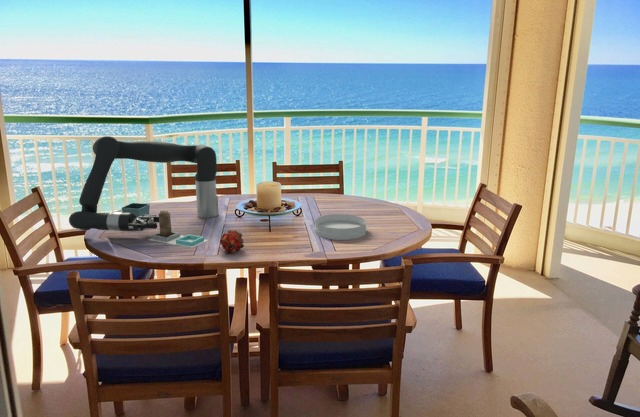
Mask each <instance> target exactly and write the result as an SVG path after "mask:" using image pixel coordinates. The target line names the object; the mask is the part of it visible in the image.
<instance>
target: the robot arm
mask: <svg viewBox="0 0 640 417" xmlns="http://www.w3.org/2000/svg"><path fill="white" fill-rule="evenodd" d="M92 152H93V153H94V155H95V157H94V160H93V165H92V168H91V170H90V172H89V175H88V177H86V178H87V179H86V181H85V183H84V185H83V186H82V187H83V188H82V191H81V193H80V196H79V200H78V202H79V204H80V205H81V210H80V211H74V212H73V213H71V214H70V216H69V218H68V223H69V225H70V226H71V227H72V228H74V229H76V230H81V231H89V230H91V229H94V230H99V231H113V232H134V231H141V232H142V231H144V230H148V229H151V230H152V229H153V230H155V229H157V228H158V223H159V216H157V214H149V215H142V216H139V217H136V216H135V214H134V213H123V212H98V204H99V201H100V199H101V195H102V193H103V190H104V186H105V183H106V179H107V177H108V174H109V172H110V169H111V167H112V165H113V163H114V162H115V160H118V159H120V160H122V159H123V160H124V159H125V160H126V159H127V160H134V161H141V162H148V163H149V162H150V163H162V164H163V163H164V164H165V163H167V164H168V163H176V162H187V163H192V164H196V168H197V169H196V174H195V176H194V178H195V179H194V180H195V182H194V183H195V193H196V194H195V195H196V196H195V197H196V214H197V217H199V218H203V219H204V218H214V217H216V216H219V215H220V213H219V212H220V211H219V197H218V196H219V195H217V181H216V180H217V179H216V177H217V176H216V175H217V169H218V168H217V166H218V164H217V162H218V161H217V154H216V151H215V149H214V148H212V147H211V146H207V145H204V144H196V145H195V144H194V145H193V144H192V145H190V144H187V145H185V144H176V143H171V142H165V141H156V140H139V141H122V140H117V139H116V138H114V137H113V136H110V135H105V136H102V137H100V138H97V139H96V140H95V141H94V143H93V145H92Z"/></svg>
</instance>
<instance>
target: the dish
mask: <svg viewBox="0 0 640 417" xmlns="http://www.w3.org/2000/svg"><path fill="white" fill-rule="evenodd" d="M314 222H315V223H314V224H315V226H314V233H315V234H316V235H317V236H319V237H320V238H324V239H329V240H339V241H341V240H343V241H344V240H345V241H347V240H355V239H360V238H361V237H364V236H365V235H366V234H367V221H366V219H365V218H363V217H361V216H357V215H353V214H345V213H344V214H342V213H333V214H326V215H322V216H319V217H317V218H316V219H315V221H314Z"/></svg>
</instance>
